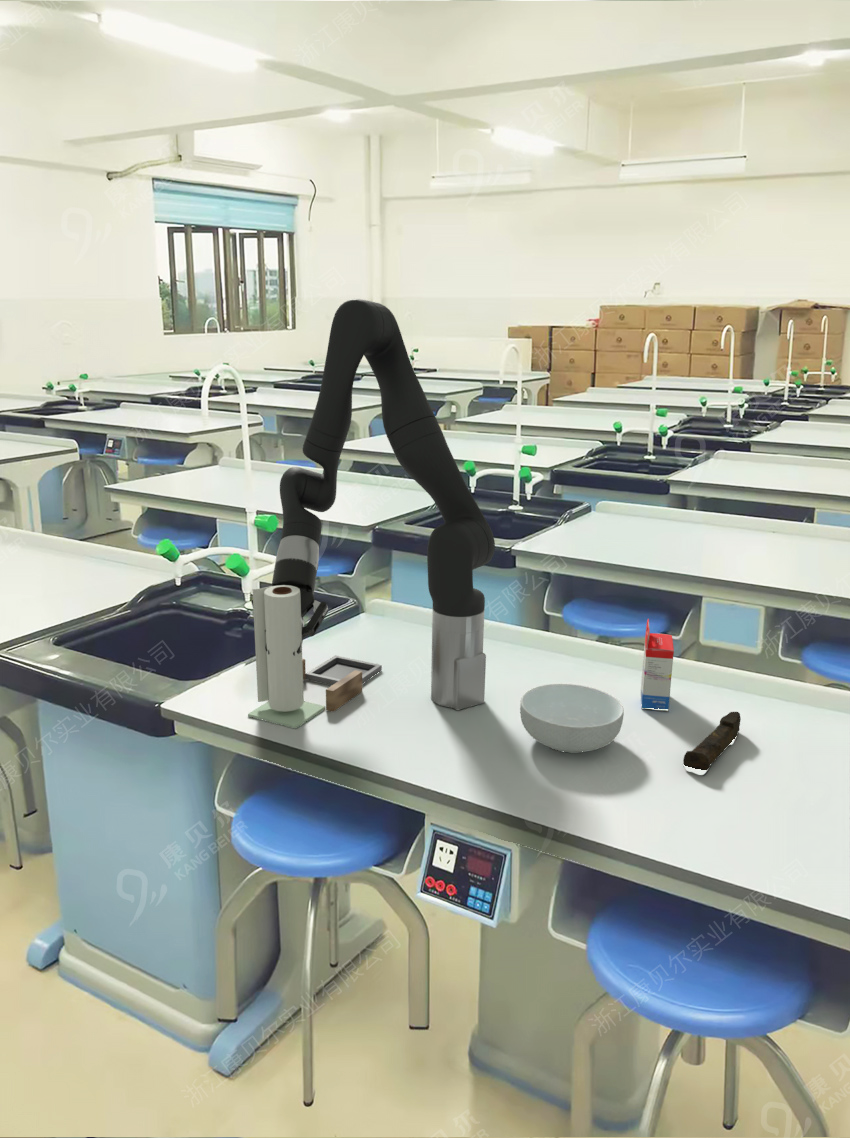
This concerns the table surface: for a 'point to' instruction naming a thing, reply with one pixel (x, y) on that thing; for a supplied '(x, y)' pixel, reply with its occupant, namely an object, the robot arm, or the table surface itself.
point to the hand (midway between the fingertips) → (282, 655)
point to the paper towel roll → (278, 646)
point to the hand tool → (714, 743)
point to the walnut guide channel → (341, 689)
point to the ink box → (656, 670)
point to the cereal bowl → (571, 717)
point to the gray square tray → (341, 670)
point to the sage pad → (287, 714)
